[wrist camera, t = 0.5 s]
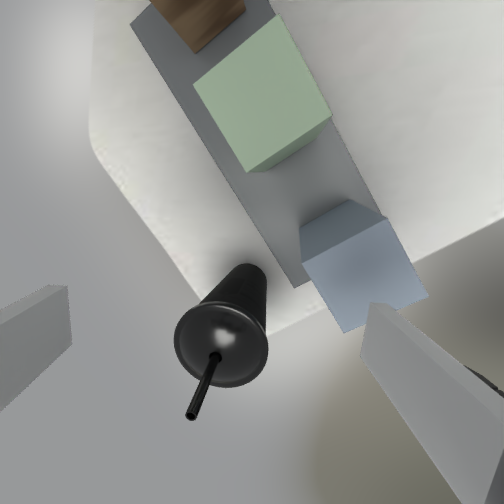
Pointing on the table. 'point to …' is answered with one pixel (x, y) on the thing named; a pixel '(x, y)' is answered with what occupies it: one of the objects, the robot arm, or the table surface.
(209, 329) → the drinking cup
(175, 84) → the grey flat board
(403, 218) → the table surface
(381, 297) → the blue-grey tall block
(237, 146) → the pale green block
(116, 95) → the table surface
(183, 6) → the brown wooden block
